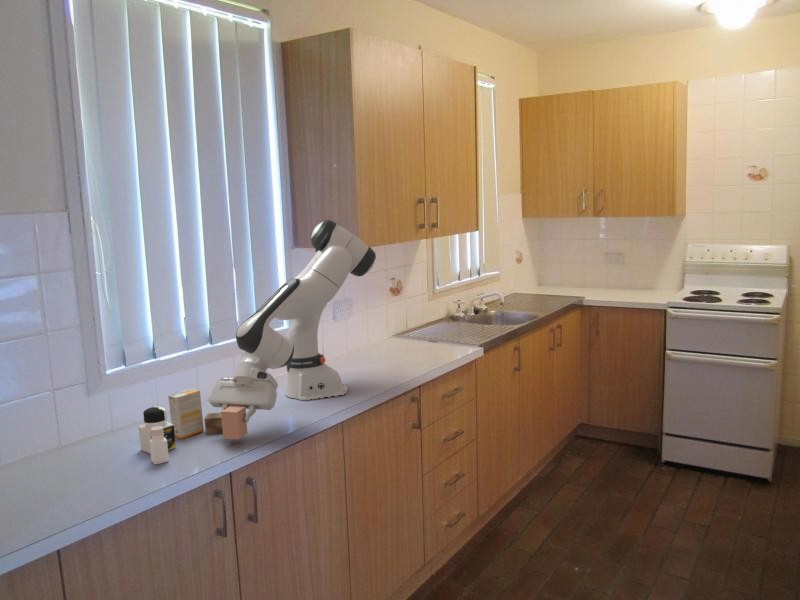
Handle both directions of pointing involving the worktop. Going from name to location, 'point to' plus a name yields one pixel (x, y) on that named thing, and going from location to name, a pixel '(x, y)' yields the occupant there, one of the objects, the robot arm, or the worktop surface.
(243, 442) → the worktop surface
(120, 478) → the worktop surface
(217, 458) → the worktop surface
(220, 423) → the walnut block
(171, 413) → the supplement box
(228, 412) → the terracotta block
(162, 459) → the pepper shaker
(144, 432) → the medicine bottle
